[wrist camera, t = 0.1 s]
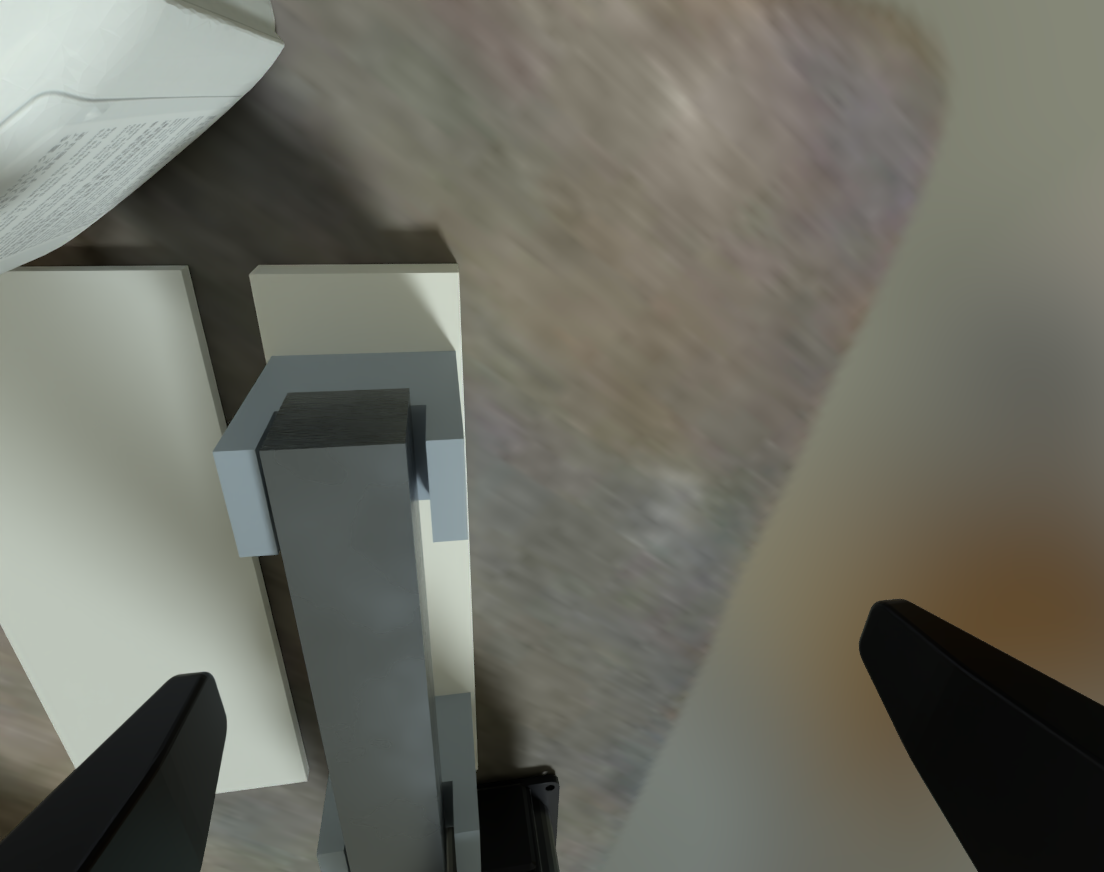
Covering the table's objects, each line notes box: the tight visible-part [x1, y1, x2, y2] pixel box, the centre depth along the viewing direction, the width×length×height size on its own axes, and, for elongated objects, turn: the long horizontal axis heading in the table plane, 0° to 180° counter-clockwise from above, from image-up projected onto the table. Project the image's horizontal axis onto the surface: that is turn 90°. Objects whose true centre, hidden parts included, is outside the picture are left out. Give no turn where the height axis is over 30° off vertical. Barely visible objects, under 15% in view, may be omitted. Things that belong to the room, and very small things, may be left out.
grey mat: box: [0, 265, 309, 794], centre depth 23 cm, size 24×9×1 cm, turn 178°
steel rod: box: [259, 388, 447, 872], centre depth 19 cm, size 20×3×3 cm, turn 178°
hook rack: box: [213, 264, 481, 872], centre depth 22 cm, size 24×6×7 cm, turn 178°
